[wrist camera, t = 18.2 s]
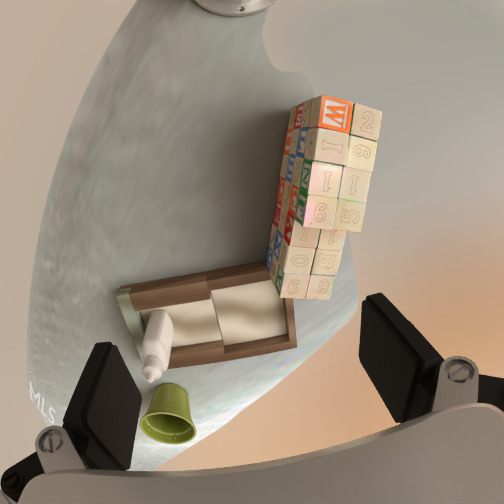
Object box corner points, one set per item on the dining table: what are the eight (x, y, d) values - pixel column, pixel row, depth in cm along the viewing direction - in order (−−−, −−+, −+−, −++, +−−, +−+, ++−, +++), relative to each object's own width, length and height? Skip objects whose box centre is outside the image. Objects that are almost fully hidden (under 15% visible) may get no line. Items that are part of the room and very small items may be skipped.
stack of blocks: (307, 268, 43) (338, 315, 32) (264, 264, 42) (282, 313, 31) (336, 116, 36) (384, 110, 24) (290, 105, 35) (323, 92, 23)
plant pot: (155, 410, 52) (150, 444, 44) (139, 377, 48) (131, 413, 40) (201, 407, 52) (201, 443, 44) (190, 374, 49) (188, 411, 41)
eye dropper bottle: (182, 315, 43) (174, 372, 32) (169, 343, 45) (161, 400, 34) (154, 305, 42) (138, 359, 31) (143, 333, 44) (128, 388, 32)
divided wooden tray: (121, 286, 42) (115, 296, 39) (284, 257, 43) (289, 265, 40) (149, 359, 47) (147, 370, 44) (292, 336, 48) (297, 347, 45)
